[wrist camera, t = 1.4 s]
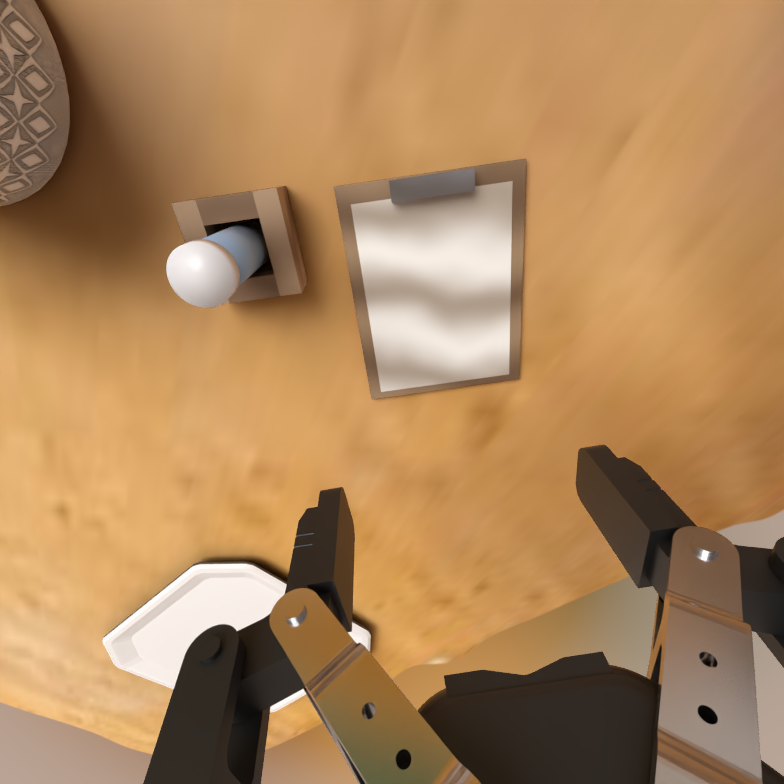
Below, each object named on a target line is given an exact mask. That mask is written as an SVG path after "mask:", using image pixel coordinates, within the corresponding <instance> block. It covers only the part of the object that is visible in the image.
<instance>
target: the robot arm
mask: <svg viewBox="0 0 784 784" xmlns="http://www.w3.org/2000/svg"><path fill="white" fill-rule="evenodd" d="M576 489H577V493H578V496H579V498H580V500H581V502H582V504H583V505H584V507H585V508H586V510H587V511H588V513H589V514H590V516H591V517H592V519H593V520H594V522H595V523H596V525H597V526H598V528H599V529H600V531H601V532H602V534H603V536H604V537H605V539H606V540H607V542H608V543H609V545H610V546H611V548H612V549H613V551H614V552H615V554H616V555H617V557H618V558H619V560H620V561H621V563H622V564H623V566H624V567H625V569H626V570H627V572H628V573H629V575H630V577H631V578H632V580H633V581H634V583H635V584H636V586H637V587H638V588H643V587H649V586H653V587H654V588H655V590H656V591H657V593H658V598H657V603H656V612H655V621H654V629H653V637H652V646H651V654H650V661H649V666H648V672H647V677H644V676H642V675H640V674H638V673H636V672H633V671H630V670H628V669H625V668H621V667H617V666H613V665H609V664H608V662H607V660H606V658H605V656H604V654H603V652H597V653H590V654H584V655H577V656H570V657H564V658H561V659H559V660H557V661H555V662H553V663H551V664H549V665H547V666H545V667H543V668H541V669H539V670H537V671H535V672H533V673H531V674H528V675H518V674H510V673H503V672H495V671H487V670H478V671H472V672H465V673H459V674H452V675H446V676H444V678H445V685H446V688H445V689H443V690H441V691H439V692H438V693H436V694H435V695H433V696H432V697H430V698H429V699H428V700H427V701H426V702H425V703H424V704H423V705H422V706H421V707H420V708H419V709H418V711H417V710H416V708H415V707H414V706H413V705H412V704H411V702H410V701H409V700H408V699H407V698H406V696H405V695H404V694H403V692H402V691H401V690H400V689H399V688H398V687H397V685H396V684H395V683H394V681H393V680H392V679H391V678H390V677H389V675H388V674H387V673H386V672H385V670H384V669H383V668H382V667H381V665H380V664H379V663H378V662H377V661H376V659H375V658H374V657H373V656H372V654H371V653H370V652H369V651H368V650H367V648H366V647H365V646H364V645H363V644H361V643H358V644H357V643H356V642H355V641H354V640H353V639H352V637H351V636H350V635H349V634H348V632H352V611H353V577H354V542H355V533H354V524H353V519H352V516H351V512H350V509H349V506H348V502H347V499H346V495H345V492H344V489H343V488H342V487H340V488H334V489H328V490H322V491H320V495H319V502H318V507H314V508H308V509H307V510H306V511H305V513H304V514H303V516H302V517H301V519H300V520H299V523H298V528H297V533H296V538H295V544H294V549H293V554H292V559H291V565H290V570H289V575H288V580H287V586H286V590H285V594H284V595H283V596H282V597H281V598H280V599H279V600H278V601H277V602H276V604H275V605H274V607H273V609H272V611H271V613H270V614H269V615H267V616H266V617H265V618H263V619H261V620H259V621H257V622H255V623H253V624H251V625H249V626H247V627H245V628H243V629H241V630H238V631H236V629H235V628H234V627H232V626H231V625H227V624H220V625H216V626H213V627H210V628H208V629H207V630H205V631H204V632H202V633H201V634H200V635H199V636H198V637H197V638H196V639H195V640H194V641H193V642H192V643H191V645H190V646H189V648H188V649H187V651H186V653H185V656H184V659H183V662H182V665H181V668H180V671H179V674H178V678H177V681H176V684H175V687H174V690H173V693H172V696H171V699H170V702H169V706H168V709H167V712H166V715H165V718H164V721H163V724H162V727H161V730H160V734H159V737H158V740H157V743H156V746H155V749H154V752H153V755H152V758H151V762H150V765H149V768H148V771H147V774H146V777H145V780H144V783H143V784H261V777H262V769H263V762H264V754H265V746H266V738H267V730H268V722H269V714H270V707H271V706H273V705H274V704H276V703H278V702H280V701H282V700H284V699H285V698H287V697H289V696H291V695H293V694H295V693H297V692H298V691H300V690H302V689H303V690H304V691H305V693H306V695H307V696H308V698H309V700H310V701H311V703H312V705H313V706H314V708H315V710H316V711H317V713H318V715H319V716H320V718H321V720H322V721H323V723H324V724H325V726H326V728H327V730H328V731H329V733H330V735H331V736H332V738H333V739H334V741H335V743H336V745H337V746H338V748H339V750H340V751H341V753H342V755H343V757H344V759H345V760H346V762H347V764H348V766H349V767H350V769H351V771H352V773H353V774H354V776H355V777H356V779H357V781H358V783H359V784H784V776H782V775H781V774H780V773H778V772H777V771H775V770H774V769H773V768H771V767H770V766H769V765H767V764H766V763H765V762H763V761H762V760H761V756H760V743H759V727H758V714H757V699H756V686H755V671H754V657H753V642H752V631H754V632H756V633H757V634H758V635H759V637H760V638H761V639H762V640H763V642H764V643H765V644H766V645H767V647H768V648H769V650H770V651H771V652H772V653H773V654H774V656H775V657H776V658H777V660H778V661H779V662H780V664H781V665H782V666H783V667H784V537H783V538H780V539H779V540H778V541H777V542H776V544H775V546H774V548H773V549H766V548H756V547H746V546H738V545H733V544H732V543H731V542H730V541H729V540H728V539H727V538H725V537H724V536H722V535H720V534H719V533H717V532H715V531H712V530H710V529H706V528H703V527H697V526H696V525H695V524H694V523H693V522H692V521H691V519H690V518H689V517H688V516H687V515H686V514H685V513H684V512H683V511H682V510H681V509H680V508H679V507H678V506H677V505H676V503H675V502H674V501H673V500H672V499H671V498H670V497H669V496H668V495H667V494H666V493H665V492H664V491H663V490H661V488H660V486H659V485H658V484H657V483H656V482H655V481H654V480H652V478H651V477H650V476H649V475H648V474H647V473H646V472H645V471H644V469H643V468H642V467H641V466H639V465H637V464H636V463H634V462H632V461H630V460H629V459H627V458H625V457H623V458H617V457H616V456H615V455H614V454H613V453H612V451H611V450H610V449H609V448H608V447H607V446H606V445H598V446H592V447H586V448H581V449H580V450H579V452H578V463H577V475H576Z"/></svg>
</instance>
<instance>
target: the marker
mask: <svg viewBox="0 0 784 784" xmlns="http://www.w3.org/2000/svg"><path fill="white" fill-rule="evenodd" d="M269 258H270V256H269V252H268V249H267V245H266V241H265V237H264V234H263V230H262V226H261V224H260V223H258V222H256V221H243V222H241V223H238V224H236V225H234V226H231V227H229V228H227V229H224V230H222V231H219V232H217V233H215V234H212V235H210V236H208V237H205V238H203V239H198V240H193V241H190V242H188V243H185V244H183V245H180V246H179V247H177V248H176V249H174V250H173V251H172V253H171V254H170V256H169V258H168V260H167V266H166V272H167V277H168V280H169V283H170V285H171V287H172V288H173V290H174V291H175V292H176V293H177V294H178V296H179V297H181V298H182V299H183V300H185V301H186V302H188V303H190V304H192V305H194V306H197V307H202V308H212V307H216V306H219V305H221V304H222V303H224V302H225V301H226V300H227V299H228V298H229V297H231V296H232V295H233V294H234V292H235V291H236V289H237V288H238V287H239V286H240V285H241V284H242V283H243V282H244V281H245V280H246V279H247V278H248V277H250V276H251V275H252V274H253V273H254V272H255V271H256V270H257V269H258V268H259V267H261V266H262V265H263V264H264V263H265V262H266V261H267V260H268V259H269Z"/></svg>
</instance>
